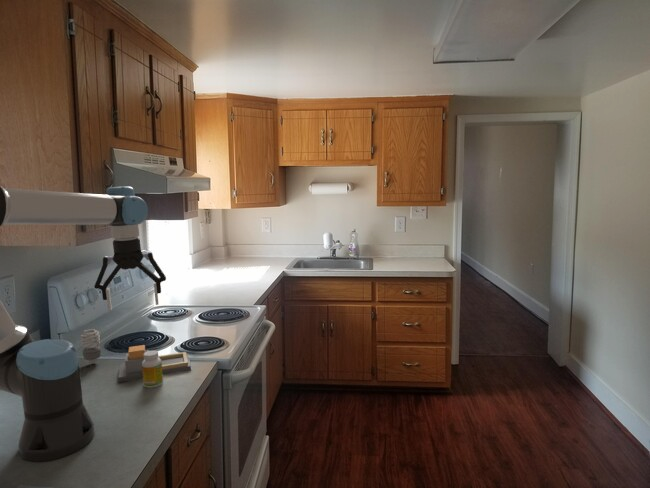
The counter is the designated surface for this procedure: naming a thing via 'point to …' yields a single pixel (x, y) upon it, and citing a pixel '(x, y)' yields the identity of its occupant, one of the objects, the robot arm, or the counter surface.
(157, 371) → the supplement bottle
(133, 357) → the switch button
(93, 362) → the light bulb
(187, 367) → the base
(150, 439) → the counter surface
